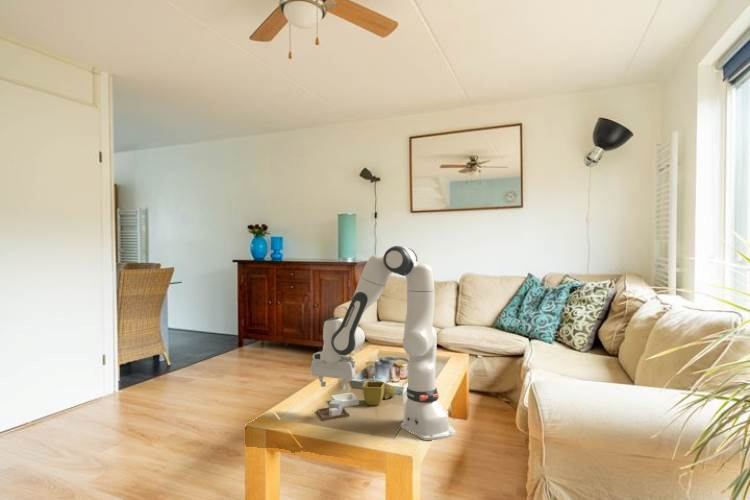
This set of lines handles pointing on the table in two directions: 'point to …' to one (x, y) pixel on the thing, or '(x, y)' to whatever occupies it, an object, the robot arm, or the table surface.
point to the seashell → (388, 391)
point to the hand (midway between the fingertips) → (332, 387)
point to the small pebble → (333, 412)
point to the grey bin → (346, 399)
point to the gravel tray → (325, 416)
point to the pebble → (336, 405)
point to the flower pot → (373, 392)
